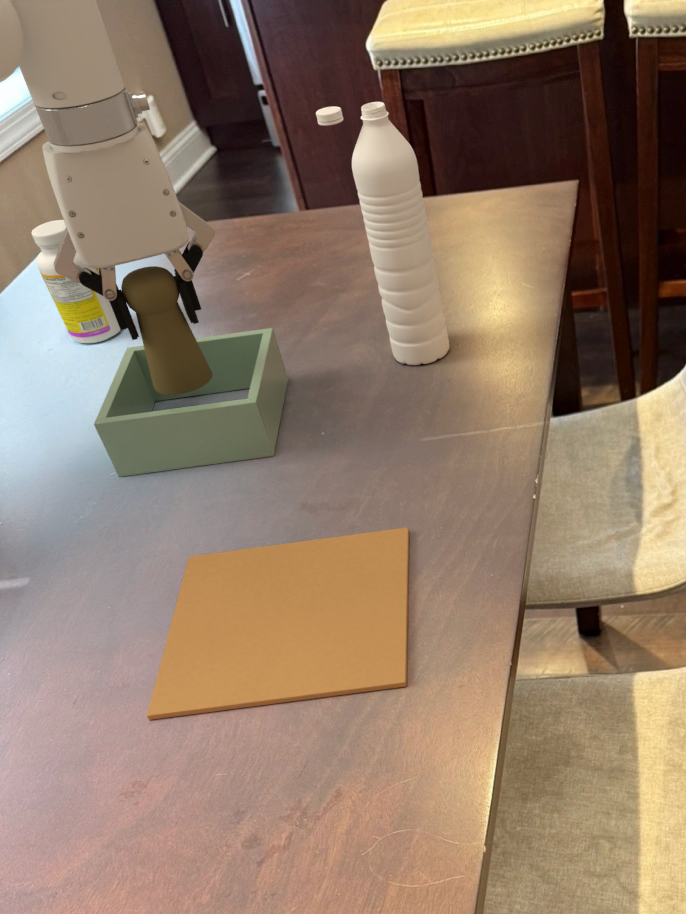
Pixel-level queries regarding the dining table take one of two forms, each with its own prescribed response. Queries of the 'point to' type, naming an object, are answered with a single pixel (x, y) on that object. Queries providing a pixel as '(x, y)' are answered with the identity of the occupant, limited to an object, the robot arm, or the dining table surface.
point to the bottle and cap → (397, 235)
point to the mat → (287, 624)
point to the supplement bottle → (73, 291)
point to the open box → (196, 409)
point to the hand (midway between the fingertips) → (163, 324)
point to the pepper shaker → (165, 332)
